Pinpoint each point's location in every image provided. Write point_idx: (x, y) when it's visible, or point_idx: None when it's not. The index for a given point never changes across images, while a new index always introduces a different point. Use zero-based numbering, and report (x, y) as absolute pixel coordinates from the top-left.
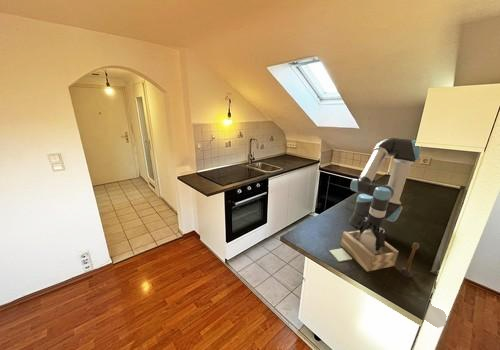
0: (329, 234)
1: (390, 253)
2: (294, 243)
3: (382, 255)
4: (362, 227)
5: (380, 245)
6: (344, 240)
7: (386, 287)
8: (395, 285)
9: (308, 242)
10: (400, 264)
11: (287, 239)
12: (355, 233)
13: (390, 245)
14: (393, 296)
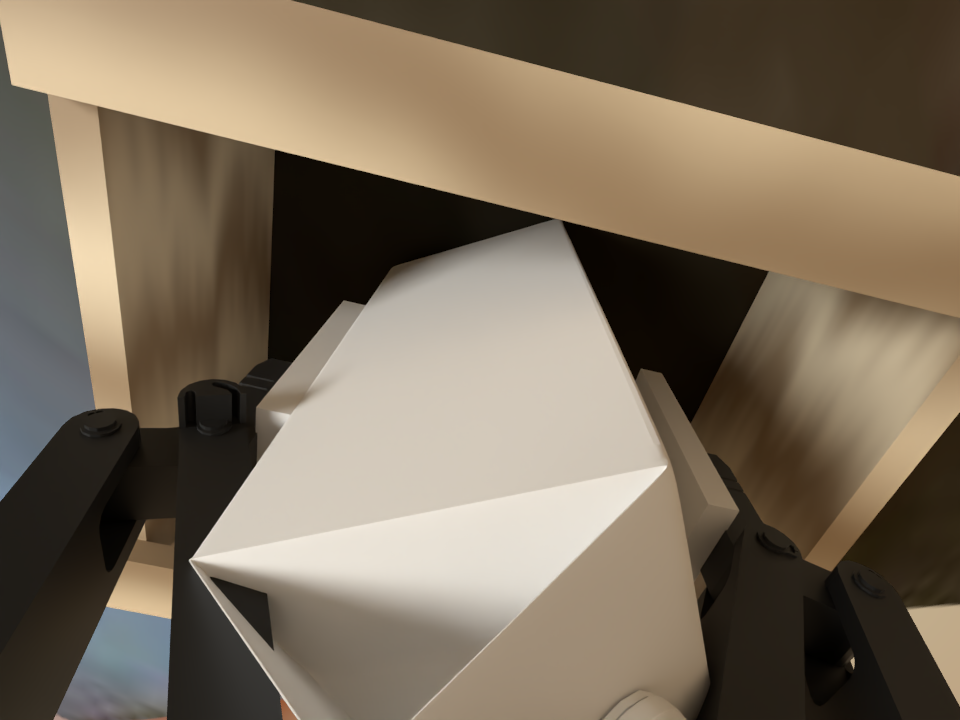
0: (19, 387)
1: (943, 408)
2: (139, 707)
3: (831, 561)
4: (100, 545)
5: (826, 674)
6: None
7: (863, 538)
8: (929, 459)
9: (143, 634)
10: (927, 20)
11: (81, 716)
12: (151, 365)
13: (911, 170)
14: (934, 570)
